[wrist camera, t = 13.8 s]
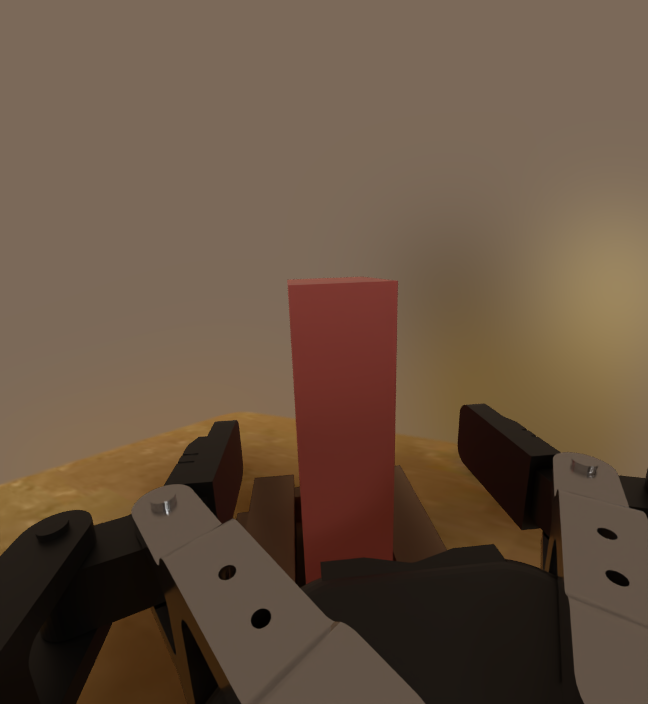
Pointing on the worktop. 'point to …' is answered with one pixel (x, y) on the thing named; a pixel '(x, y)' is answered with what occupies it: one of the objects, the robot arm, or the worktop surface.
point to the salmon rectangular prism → (345, 415)
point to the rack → (287, 534)
